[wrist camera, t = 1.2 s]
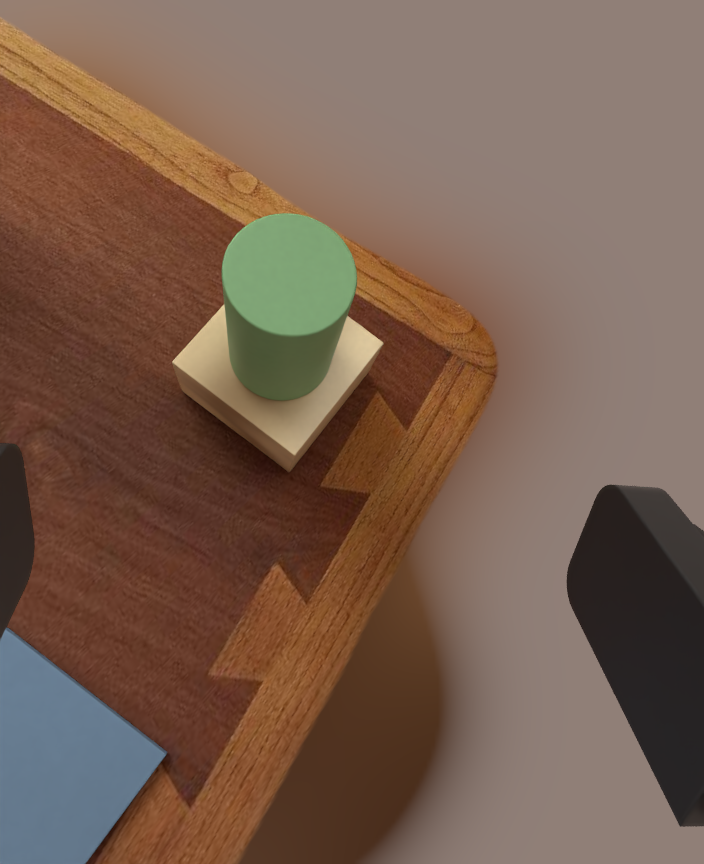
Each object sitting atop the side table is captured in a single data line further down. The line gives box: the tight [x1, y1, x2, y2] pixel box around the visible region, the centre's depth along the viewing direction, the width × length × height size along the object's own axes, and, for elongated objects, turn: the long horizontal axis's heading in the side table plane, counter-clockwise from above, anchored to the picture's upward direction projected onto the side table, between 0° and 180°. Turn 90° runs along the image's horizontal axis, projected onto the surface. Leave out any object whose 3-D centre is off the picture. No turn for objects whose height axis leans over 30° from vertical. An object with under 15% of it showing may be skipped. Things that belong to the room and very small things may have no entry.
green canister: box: [222, 213, 357, 401], centre depth 30 cm, size 5×5×9 cm
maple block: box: [172, 305, 383, 472], centre depth 37 cm, size 8×8×5 cm
